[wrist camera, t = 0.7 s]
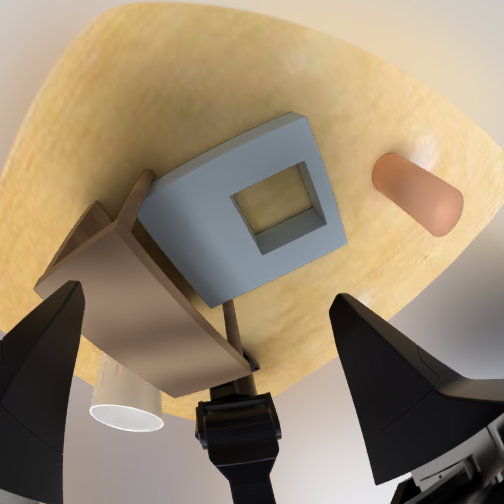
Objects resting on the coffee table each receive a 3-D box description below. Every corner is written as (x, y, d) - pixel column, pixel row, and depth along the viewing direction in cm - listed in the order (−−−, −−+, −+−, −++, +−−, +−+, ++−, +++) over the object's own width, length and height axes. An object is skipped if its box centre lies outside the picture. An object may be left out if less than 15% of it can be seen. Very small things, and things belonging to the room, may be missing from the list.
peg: (407, 183, 23) (462, 224, 17) (376, 199, 24) (428, 245, 17) (401, 147, 21) (463, 181, 14) (368, 162, 21) (428, 201, 15)
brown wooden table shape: (233, 286, 26) (251, 373, 19) (174, 313, 27) (174, 398, 19) (149, 163, 18) (114, 228, 10) (84, 209, 19) (33, 289, 11)
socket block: (333, 226, 24) (347, 243, 22) (208, 286, 26) (210, 308, 23) (291, 111, 18) (306, 116, 16) (138, 191, 19) (130, 208, 17)
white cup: (91, 340, 28) (77, 412, 20) (126, 314, 26) (114, 398, 18) (138, 368, 32) (135, 435, 24) (177, 348, 31) (179, 424, 23)
